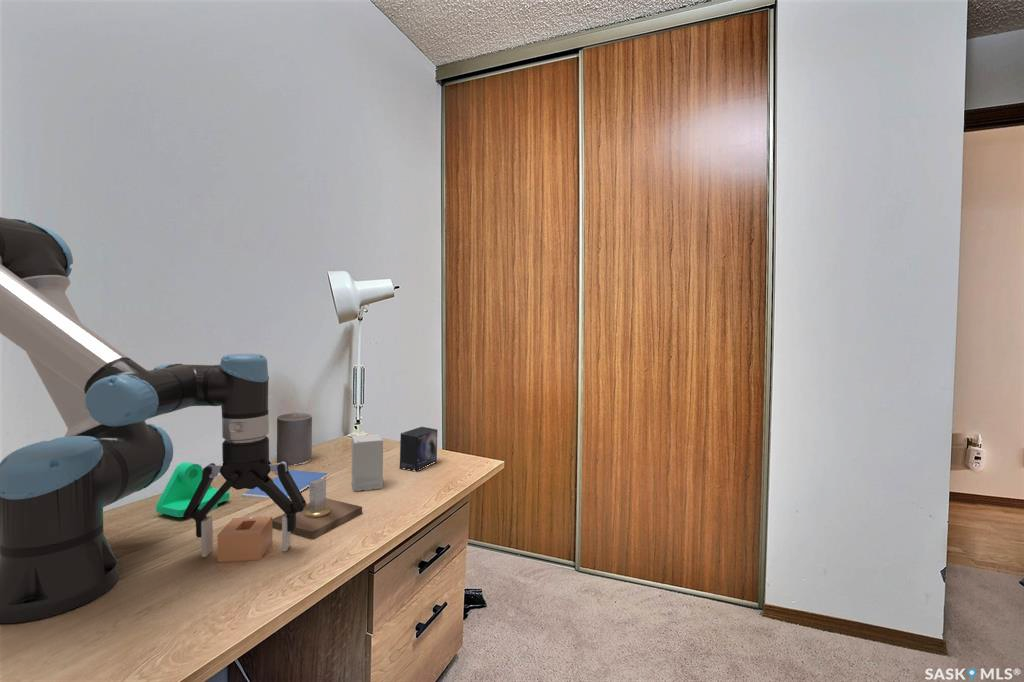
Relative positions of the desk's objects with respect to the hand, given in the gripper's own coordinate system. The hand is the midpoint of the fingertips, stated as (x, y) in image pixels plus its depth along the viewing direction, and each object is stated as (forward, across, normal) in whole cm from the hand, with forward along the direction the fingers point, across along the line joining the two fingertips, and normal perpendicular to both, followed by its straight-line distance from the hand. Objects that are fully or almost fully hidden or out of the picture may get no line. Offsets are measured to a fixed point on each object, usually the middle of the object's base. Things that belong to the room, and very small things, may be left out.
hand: (247, 550), depth 89 cm
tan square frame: (0, 0, 0) cm, 0 cm away
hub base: (0, +10, +13) cm, 16 cm away
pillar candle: (0, -6, +56) cm, 57 cm away
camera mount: (0, -18, +22) cm, 29 cm away
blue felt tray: (+1, -2, +36) cm, 36 cm away
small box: (0, +31, +48) cm, 57 cm away
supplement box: (0, +18, +33) cm, 37 cm away
